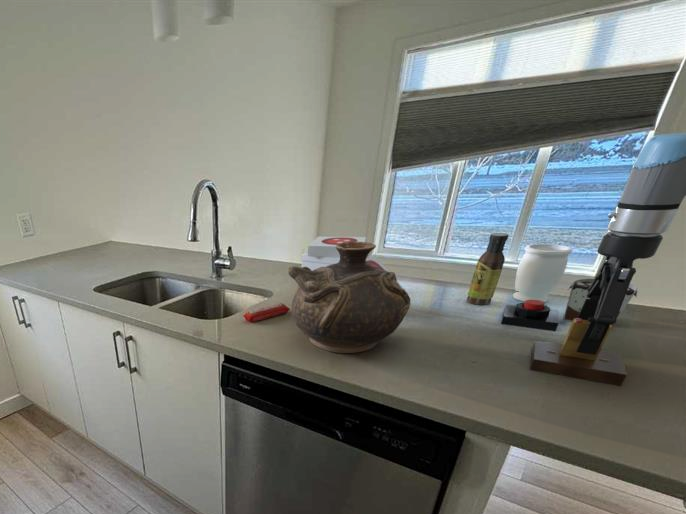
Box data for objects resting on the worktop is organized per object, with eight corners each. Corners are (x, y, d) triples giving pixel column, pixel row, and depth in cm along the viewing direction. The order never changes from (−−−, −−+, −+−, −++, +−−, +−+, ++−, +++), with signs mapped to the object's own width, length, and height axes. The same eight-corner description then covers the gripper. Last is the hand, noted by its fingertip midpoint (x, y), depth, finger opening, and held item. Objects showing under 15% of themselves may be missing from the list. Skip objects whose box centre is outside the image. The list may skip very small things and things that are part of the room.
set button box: (554, 318, 108) (560, 303, 106) (555, 331, 101) (561, 316, 99) (503, 312, 114) (508, 298, 112) (500, 324, 107) (505, 309, 105)
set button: (542, 307, 106) (545, 300, 105) (542, 311, 103) (545, 305, 102) (523, 304, 108) (525, 298, 107) (522, 309, 106) (525, 303, 105)
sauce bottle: (462, 299, 125) (481, 231, 115) (485, 299, 123) (507, 230, 113) (470, 306, 120) (491, 236, 110) (494, 306, 118) (518, 235, 108)
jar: (501, 293, 126) (517, 244, 119) (539, 292, 124) (558, 242, 117) (519, 304, 117) (537, 252, 110) (560, 304, 115) (582, 250, 108)
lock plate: (614, 363, 86) (620, 351, 85) (621, 385, 79) (627, 374, 78) (530, 350, 94) (535, 339, 93) (529, 369, 87) (534, 358, 85)
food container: (620, 320, 104) (639, 281, 99) (620, 328, 100) (640, 288, 95) (556, 311, 111) (571, 275, 106) (555, 319, 107) (570, 282, 102)
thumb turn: (594, 356, 84) (611, 321, 81) (595, 360, 83) (612, 325, 79) (559, 350, 88) (574, 317, 84) (560, 355, 86) (574, 321, 82)
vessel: (265, 342, 109) (272, 246, 98) (326, 319, 124) (338, 233, 112) (359, 374, 90) (380, 259, 78) (418, 342, 104) (443, 241, 93)
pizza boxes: (377, 317, 118) (388, 255, 109) (290, 298, 138) (294, 244, 129) (406, 300, 128) (418, 241, 119) (321, 284, 149) (326, 233, 140)
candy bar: (248, 324, 122) (248, 315, 120) (241, 320, 124) (241, 311, 123) (291, 313, 127) (291, 303, 125) (283, 309, 130) (284, 300, 128)
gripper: (599, 220, 83) (558, 317, 94) (613, 246, 67) (561, 360, 77) (652, 221, 79) (602, 322, 90) (680, 249, 62) (615, 369, 73)
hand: (583, 340), depth 84 cm, fingers open, 13 cm apart
